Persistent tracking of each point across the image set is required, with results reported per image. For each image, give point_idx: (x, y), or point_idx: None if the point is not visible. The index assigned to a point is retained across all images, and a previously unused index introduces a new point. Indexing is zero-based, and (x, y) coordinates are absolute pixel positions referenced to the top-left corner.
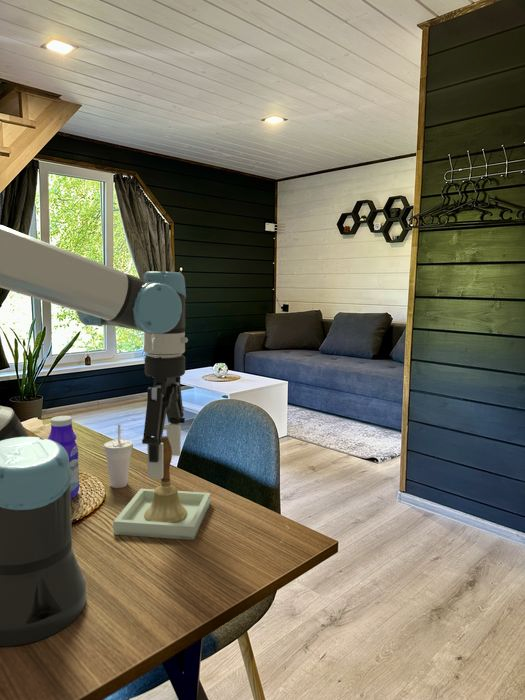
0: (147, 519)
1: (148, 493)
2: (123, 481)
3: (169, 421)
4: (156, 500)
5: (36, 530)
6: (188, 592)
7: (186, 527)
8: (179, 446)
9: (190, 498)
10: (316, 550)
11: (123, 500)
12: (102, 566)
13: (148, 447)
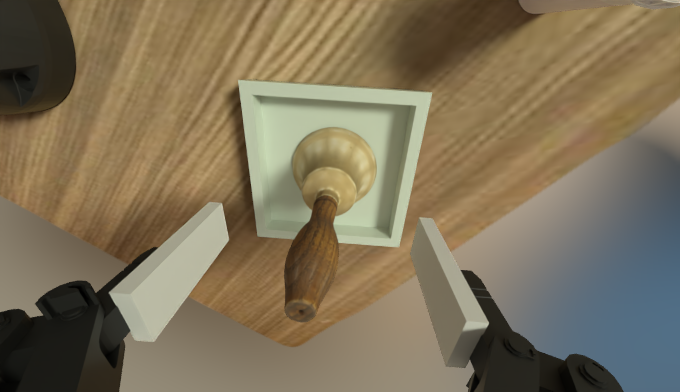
0: (303, 141)
1: (412, 117)
2: (531, 3)
3: (492, 342)
4: (306, 170)
5: None
6: (143, 232)
7: (257, 224)
8: (418, 277)
9: (393, 208)
10: (274, 339)
11: (423, 41)
12: (142, 98)
13: (128, 279)
